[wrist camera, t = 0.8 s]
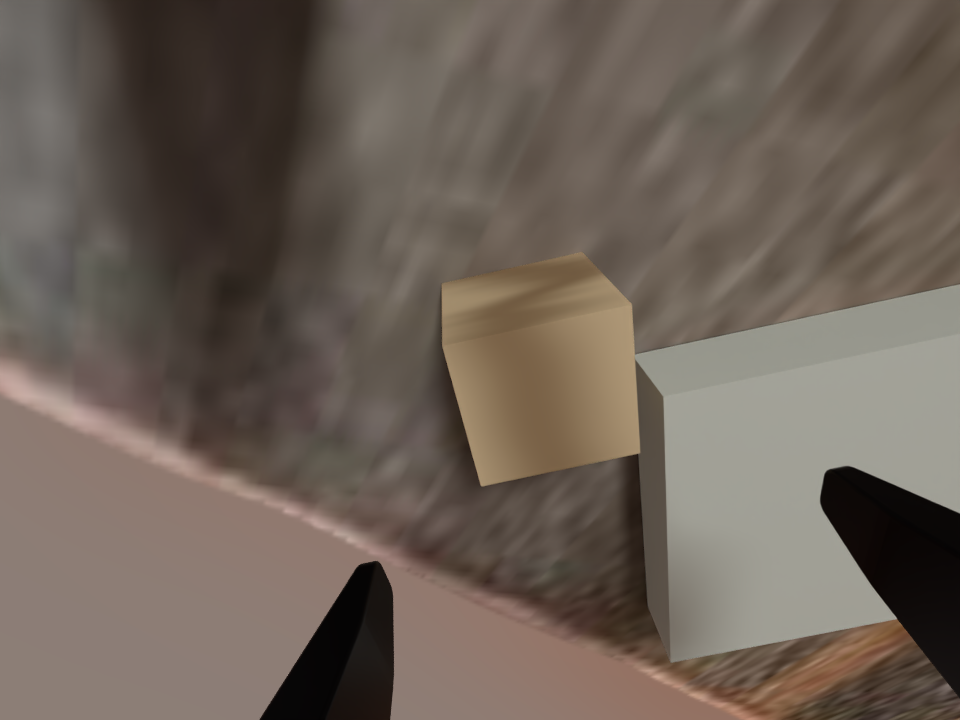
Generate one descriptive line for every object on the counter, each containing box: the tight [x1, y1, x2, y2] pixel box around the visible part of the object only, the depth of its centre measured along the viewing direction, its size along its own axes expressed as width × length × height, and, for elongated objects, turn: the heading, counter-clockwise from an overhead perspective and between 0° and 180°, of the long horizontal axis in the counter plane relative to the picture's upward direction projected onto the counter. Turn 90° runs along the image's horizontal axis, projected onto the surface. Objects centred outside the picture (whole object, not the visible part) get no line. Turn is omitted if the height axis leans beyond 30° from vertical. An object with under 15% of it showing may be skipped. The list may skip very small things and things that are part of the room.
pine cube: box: [442, 252, 640, 486], centre depth 16 cm, size 5×5×5 cm
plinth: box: [635, 284, 960, 663], centre depth 21 cm, size 16×16×3 cm
